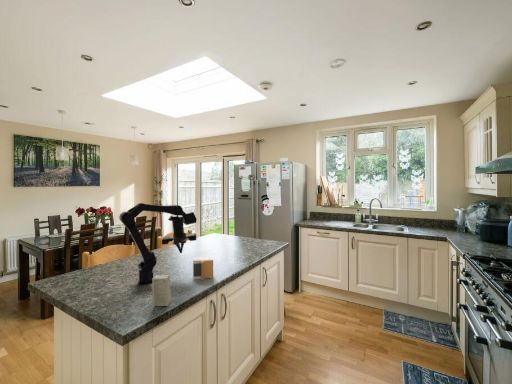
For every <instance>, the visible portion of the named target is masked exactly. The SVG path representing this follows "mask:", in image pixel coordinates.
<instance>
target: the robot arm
mask: <svg viewBox="0 0 512 384" xmlns="http://www.w3.org/2000/svg"><path fill="white" fill-rule="evenodd" d="M142 212H155V213H164V214H170V216H169V218H168V219H167V220H168V221H170V222H172V230H173V232H172V233H173V234H172V237H171V236H163V237H162V239H161V245H168V244H170V242H172V245H174V246H176V247H177V249H178V251H179V254H182V253H183V248H184V245H185V244H186V243H187V241H188V240H189V241H190V242H193V241H197V234H196V232H193V233H189V234H188V235H187V233H186V232H185V228H184V225H186V226H189V225H193V224H194V225H195V224H196V223H197V216H196V214H195V211H190V212H187V213H186V212H185V210H183V207H182V206H181V205H178V204H169V205H168V204H167V205H160V204H159V205H158V204H151V203H143V202H139V203H137V204H136V205H134V206H133V207H132V208H130V209H128V210H127V211H123V212H121V213H120V214H119V221H120V222H121V223H122V225H123V226H124V228H126V229H127V230H128V232H129V234H130V236H131V238H132V240H133V242H134V243H135V246H136V247H137V249H138V251H139V253H140V259H141V262H140V263H139V264H138V265H137V268H138V269H139V270H138V280H137V282H138V285H139V286H140V285H141V286H142V285H147V284H152V278H153V277H154V271H153V270H154V267H156V265H157V263H158V261H157V260H158V258H157V257H156V255H155V252H154V251H152V249H151V250H149V249H148V247H147V245H146V243H145V242H144V239H143V238H142V235H141V233H140V232H139V229H138V228H137V224H136V219H135V218H137V217H138V216H139V215H140V214H141V213H142ZM172 215H173V216H172Z"/></svg>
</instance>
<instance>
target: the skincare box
mask: <svg viewBox="0 0 512 384" xmlns="http://www.w3.org/2000/svg"><path fill="white" fill-rule="evenodd" d="M151 285H152V308H156V307H155V306H167V307H169V305H170V303H171V275H170V274H155V275H153V278H152V283H151Z"/></svg>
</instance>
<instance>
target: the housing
mask: <svg viewBox="0 0 512 384" xmlns="http://www.w3.org/2000/svg"><path fill="white" fill-rule="evenodd" d="M204 260H211V259H210V256H205V257H193V258H192V279H193V280H201V261H204Z"/></svg>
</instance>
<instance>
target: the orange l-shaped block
mask: <svg viewBox="0 0 512 384" xmlns="http://www.w3.org/2000/svg"><path fill="white" fill-rule="evenodd" d="M210 278H214V259H210V260H204V261H201V279H200V280H201V281H205V279H210Z"/></svg>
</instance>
